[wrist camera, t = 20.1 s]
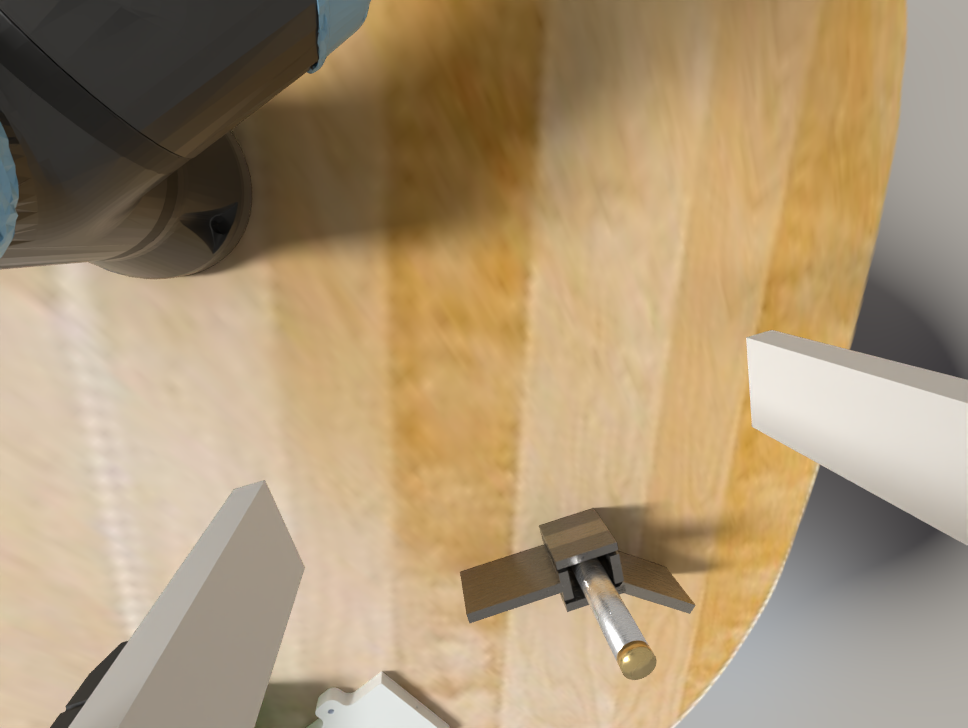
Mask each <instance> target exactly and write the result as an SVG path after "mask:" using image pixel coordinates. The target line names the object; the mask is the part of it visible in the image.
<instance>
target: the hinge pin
mask: <svg viewBox="0 0 968 728" xmlns="http://www.w3.org/2000/svg"><path fill="white" fill-rule="evenodd" d="M571 568H572V570H573V572H574V575H575V577H576V579H577V581H578V583H579V585H580V587H581V589H582V591H583V593H584V595H585V597H586V599H587V601H588V603H589V605H590V607H591V609H592V611H593V613H594V615H595V618H596V620H597V622H598V624H599V626H600V628H601V630H602V632H603V634H604V636H605V638H606V640H607V642H608V644H609V646H610V648H611V650H612V652H613V654H614V656H615V658H616V660H617V663H618V665H619V667H620V669H621V671H622V673H623V675H624V676H625V677H626V678H628V679H631V680H638V679H642V678H644V677H646V676H647V675H649V674H650V673H651V672H652V671H653V670H654V668H655V666H656V657H655V655H654V654H653V652H652V650H651V649H650V647H649V645H648V643H647V642H646V640H645V638H644V637H643V635H642V633H641V631H640V630H639V628H638V626H637V625H636V623H635V621H634V620H633V618H632V616H631V614H630V613H629V611H628V609H627V608H626V606H625V604H624V602H623V601H622V599H621V597H620V596H619V594H618V592H617V590H616V589H615V587H614V585H613V584H612V582H611V580H610V579H609V577H608V575H607V573H606V572H605V570H604V568H603V567H602V565H601V563H600V561H599V560H598V558H597V557H595V558H592V559H589V560H586V561H583V562H580V563H577V564H574V565H571Z"/></svg>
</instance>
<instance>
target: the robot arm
mask: <svg viewBox="0 0 968 728" xmlns="http://www.w3.org/2000/svg"><path fill="white" fill-rule="evenodd" d="M370 1H371V0H0V269H10V268H22V267H34V266H46V265H58V264H70V263H81V262H89V263H91V264H94V265H97V266H99V267H101V268H103V269H106V270H108V271H111V272H114V273H117V274H121V275H125V276H129V277H135V278H143V279H167V278H174V277H180V276H186V275H191V274H194V273H197V272H200V271H203V270H205V269H207V268H209V267H211V266H213V265H215V264H216V263H218V262H219V261H221V260H222V259H223V258H224V257H225V256H227V255H228V254H229V253H230V252H231V251H232V249H233V248H234V247H235V246H236V244H237V243H238V242H239V240H240V238H241V237H242V235H243V233H244V231H245V229H246V226H247V223H248V220H249V216H250V211H251V204H252V187H251V179H250V174H249V170H248V166H247V163H246V160H245V158H244V155H243V153H242V151H241V149H240V147H239V144H238V143H237V141H236V139H235V137H234V136H233V134H232V133H231V131H230V130H231V129H232V128H234V127H235V126H236V125H238V124H239V123H240V122H242V121H243V120H244V119H246V118H247V117H248V116H250V115H251V114H252V113H253V112H255V111H256V110H257V109H259V108H260V107H261V106H263V105H264V104H265V103H267V102H268V101H269V100H271V99H272V98H273V97H274V96H276V95H277V94H278V93H280V92H281V91H282V90H284V89H285V88H286V87H288V86H289V85H290V84H291V83H293V82H294V81H295V80H297V79H298V78H299V77H301V76H302V75H303V74H305V73H306V72H308V73H309V74H312V73H314V72H316V71H317V70H319V69H320V68H321V67H322V65H323V63H324V61H325V59H326V57H327V56H328V55H329V54H330V53H331V52H333V51H334V50H335V49H336V48H337V47H338V46H340V45H341V44H342V43H343V42H344V41H346V40H347V39H348V38H349V37H350V36H351V35H353V34H354V33H355V32H356V31H357V30H358V29H359V28H360V27H361V26H362V24H363V23H364V21H365V19H366V17H367V13H368V9H369V4H370ZM746 340H747V356H748V371H749V386H750V402H751V417H752V427H753V428H755V429H757V430H759V431H761V432H763V433H764V434H766V435H768V436H770V437H772V438H773V439H775V440H777V441H779V442H781V443H782V444H784V445H786V446H788V447H790V448H792V449H793V450H795V451H797V452H799V453H801V454H802V455H804V456H806V457H808V458H810V459H811V460H813V461H815V462H817V463H819V464H820V465H822V466H824V467H826V468H828V469H830V470H831V471H833V472H835V473H837V474H839V475H840V476H842V477H844V478H846V479H848V480H849V481H851V482H853V483H855V484H857V485H859V486H860V487H862V488H864V489H866V490H868V491H869V492H871V493H873V494H875V495H877V496H878V497H880V498H882V499H884V500H886V501H887V502H889V503H891V504H893V505H895V506H897V507H898V508H900V509H902V510H904V511H906V512H907V513H909V514H912V515H913V516H915V517H916V518H918V519H920V520H922V521H924V522H926V523H927V524H929V525H931V526H933V527H935V528H936V529H939V530H940V531H942V532H944V533H946V534H948V535H949V536H951V537H953V538H955V539H957V540H958V541H960V542H962V543H964V544H965V545H967V546H968V380H965V379H961V378H957V377H954V376H950V375H946V374H942V373H938V372H934V371H930V370H926V369H922V368H918V367H914V366H910V365H906V364H903V363H898V362H894V361H891V360H887V359H883V358H879V357H875V356H871V355H867V354H864V353H860V352H856V351H852V350H848V349H844V348H840V347H836V346H832V345H828V344H824V343H821V342H817V341H813V340H809V339H805V338H801V337H797V336H793V335H789V334H785V333H781V332H778V331H774V330H770V331H767V332H763V333H760V334H757V335H753V336H750V337H747V338H746ZM304 569H305V567H304V564H303V562H302V560H301V558H300V556H299V553H298V551H297V549H296V547H295V545H294V542H293V540H292V538H291V536H290V534H289V532H288V529H287V527H286V525H285V523H284V521H283V518H282V516H281V514H280V512H279V510H278V507H277V505H276V503H275V501H274V499H273V496H272V494H271V492H270V490H269V488H268V486H267V483H266V481H265V480H263V481H260V482H257V483H253V484H250V485H246V486H243V487H240V488H236V489H234V490H233V491H232V493H231V494H230V496H229V497H228V498H227V500H226V501H225V503H224V504H223V506H222V507H221V509H220V510H219V511H218V513H217V514H216V516H215V517H214V519H213V520H212V521H211V523H210V524H209V526H208V527H207V529H206V530H205V532H204V533H203V534H202V536H201V537H200V539H199V540H198V542H197V543H196V545H195V546H194V547H193V549H192V550H191V552H190V553H189V555H188V556H187V557H186V559H185V560H184V562H183V563H182V565H181V566H180V568H179V569H178V570H177V572H176V573H175V575H174V576H173V578H172V579H171V580H170V582H169V583H168V585H167V586H166V588H165V589H164V591H163V592H162V593H161V595H160V596H159V598H158V599H157V601H156V602H155V604H154V605H153V606H152V608H151V609H150V611H149V612H148V614H147V615H146V616H145V618H144V619H143V621H142V622H141V624H140V625H139V627H138V628H137V629H136V631H135V632H134V634H133V635H132V637H131V638H130V639H129V641H126V642H123V643H121V644H120V645H119V646H118V647H117V648H116V649H115V650H113V651H112V652H111V653H110V654H109V655H108V656H107V657H106V658H105V659H104V660H103V661H102V662H101V663H100V664H99V665H98V666H97V667H96V668H95V669H94V670H93V671H92V672H91V673H90V674H89V675H88V677H87V678H86V679H85V681H84V682H83V683H82V685H81V686H80V688H79V689H78V690H77V692H76V693H75V694H74V696H73V697H72V698H71V700H70V701H69V703H68V704H67V705H66V711H65V712H63V713H60V715H59V716H58V718H57V719H56V720H55V722H54V723H53V724H52V726H51V727H50V728H254V727H255V724H256V721H257V718H258V714H259V711H260V708H261V705H262V702H263V699H264V695H265V692H266V689H267V686H268V683H269V680H270V676H271V673H272V670H273V667H274V664H275V660H276V657H277V654H278V651H279V648H280V645H281V641H282V638H283V635H284V632H285V629H286V626H287V622H288V619H289V616H290V613H291V610H292V607H293V603H294V600H295V597H296V594H297V591H298V588H299V584H300V581H301V578H302V575H303V572H304Z"/></svg>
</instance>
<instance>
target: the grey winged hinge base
mask: <svg viewBox="0 0 968 728" xmlns="http://www.w3.org/2000/svg"><path fill="white" fill-rule="evenodd" d="M539 527H540V532H541V534H542V540H543V544H544V545H541V546H538V547H535V548H532V549H529V550H526V551H523V552H520V553H517V554H514V555H511V556H508V557H505V558H501V559H498V560H495V561H492V562H489V563H486V564H483V565H480V566H477V567H474V568H471V569H468V570H465V571H461V572H460V574H461V581H462V588H463V594H464V601H465V607H466V614H467V617H468V620H469V623H472V622H475V621H478V620H481V619H484V618H487V617H490V616H493V615H496V614H499V613H502V612H505V611H508V610H511V609H514V608H517V607H520V606H523V605H526V604H529V603H532V602H535V601H538V600H541V599H544V598H547V597H550V596H553V595H556V594H559V593H560V595H561V598H562V600H563V603H564V605H565V607H566V610H567V612H569V611H572V610H575V609H577V608H580V607H583V606H586V605H589V603H588V601H587V599H586V597H585V595H584V593H583V591H582V589H581V587H580V585H579V583H578V581H577V579H576V577H575V575H574V572H573V570H572V568H571V565H574V564H577V563H580V562H583V561H586V560H589V559H592V558H595V557H597V558H598V560H599V561H600V563H601V565H602V567H603V568H604V570H605V572H606V573H607V575H608V577H609V579H610V580H611V582H612V584H613V585H614V587H615V589H616V590H617V592H618V594H622V593H625V594H629V595H632V596H635V597H638V598H641V599H645V600H648V601H651V602H654V603H657V604H661V605H664V606H667V607H670V608H673V609H677V610H680V611H683V612H686V613H689V614H690V613H691V611H692V610H693V608H694V607H695V604H694V603H693V601H692V600H691V599H690V597H689V596H688V595H687V594H686V592H685V591H684V590H683V588H682V587H681V586H680V585H679V583H678V582H677V581H676V580H675V578H674V577H673V576H672V574H671V573H670V572H669V571H668V569H667V568H666V567H664V566H661V565H658V564H655V563H652V562H649V561H646V560H643V559H640V558H637V557H634V556H632V555H629V554H626V553H623V552H620V551H617V550H618V546H617V542H616V540H615V539H614V537H613V536H612V534H611V533H610V531H609V530H608V528H607V527H606V525H605V524H604V523H603V521H602V520H601V518H600V517H599V515H598V514H597V512H596V511H595V509H594V508H593V509H589V510H586V511H583V512H580V513H577V514H574V515H571V516H568V517H565V518H561V519H558V520H555V521H552V522H549V523H546V524H543V525H540V526H539Z"/></svg>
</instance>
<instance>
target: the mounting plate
mask: <svg viewBox="0 0 968 728" xmlns="http://www.w3.org/2000/svg"><path fill="white" fill-rule="evenodd" d="M315 714H316V716H317V717H319V719H317V720H316V721H315V722H313V723H312V724H310V725H309V726H308V727H306V728H450V725H448V724H447V723H446V722H445V721H443V720H442V719H441V718H440V717H438V716H437V715H436V714H435V713H433V712H432V711H431V710H430V709H428V708H427V707H426V706H425V705H423V704H422V703H421V702H420V701H418V700H417V699H416V698H415V697H413V696H412V695H411V694H410V693H408V692H407V691H406V690H405V689H403V688H402V687H401V686H400V685H398V684H397V683H396V682H395V681H393V680H392V679H391V678H390V677H388V676H387V675H386V674H385V673H383V672H382V671H381V672H380V673H379V674H377V675H376V676H375V677H373V678H372V679H371V680H369V681H368V682H367V683H365V684H364V685H363V686H361V687H360V688H359V689H357V690H356V691H354V692H352V693H345V692H343V691H342V690H341V689H339V688H335V687H333V688H329V689H328V690H326V691H325V692H324V693H322V694H321V695H320V696H319V697H318V702H317V707H316V712H315Z"/></svg>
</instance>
